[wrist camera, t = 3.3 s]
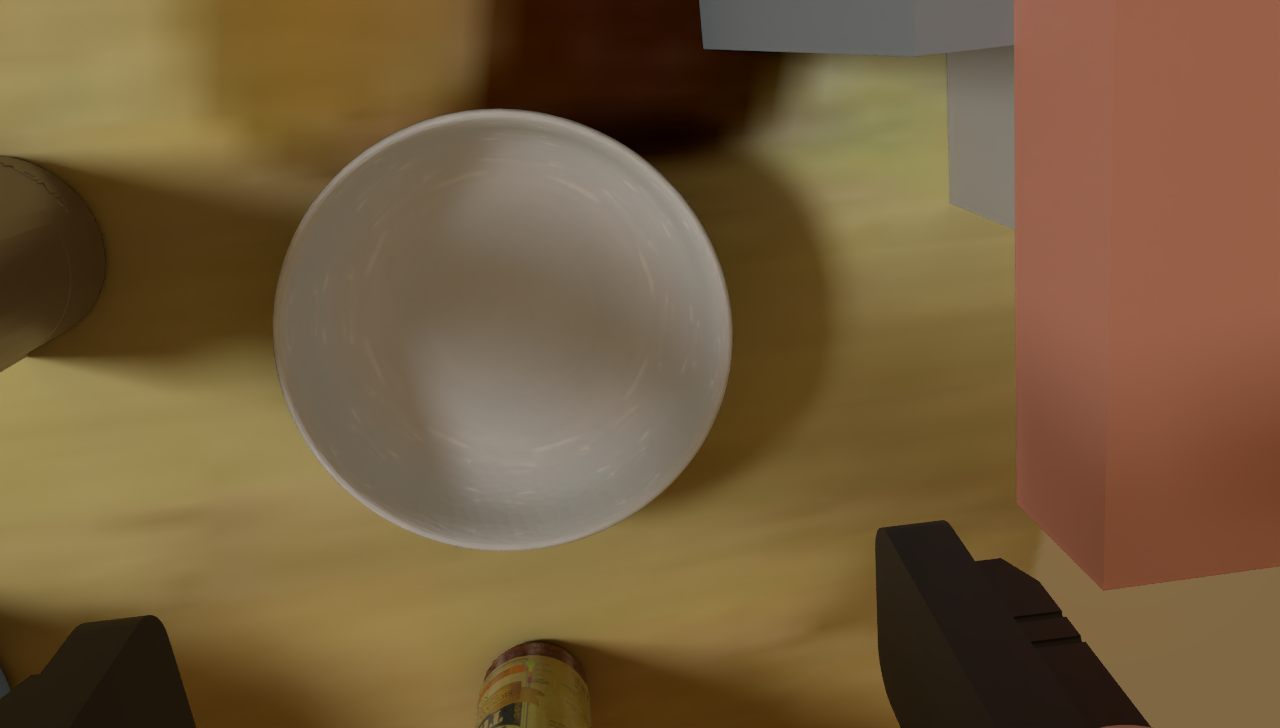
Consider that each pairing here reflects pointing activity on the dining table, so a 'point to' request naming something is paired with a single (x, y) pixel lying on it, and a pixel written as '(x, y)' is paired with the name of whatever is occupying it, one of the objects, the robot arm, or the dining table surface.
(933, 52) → the stand
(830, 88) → the dining table surface
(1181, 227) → the bar
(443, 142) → the serving bowl
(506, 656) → the sauce bottle
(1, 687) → the water jug
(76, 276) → the robot arm
